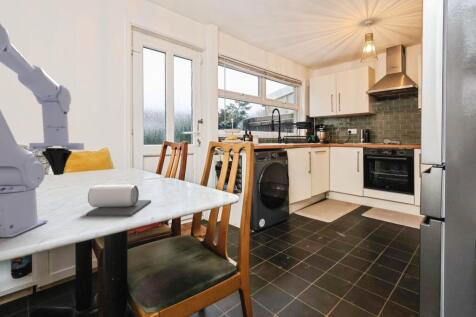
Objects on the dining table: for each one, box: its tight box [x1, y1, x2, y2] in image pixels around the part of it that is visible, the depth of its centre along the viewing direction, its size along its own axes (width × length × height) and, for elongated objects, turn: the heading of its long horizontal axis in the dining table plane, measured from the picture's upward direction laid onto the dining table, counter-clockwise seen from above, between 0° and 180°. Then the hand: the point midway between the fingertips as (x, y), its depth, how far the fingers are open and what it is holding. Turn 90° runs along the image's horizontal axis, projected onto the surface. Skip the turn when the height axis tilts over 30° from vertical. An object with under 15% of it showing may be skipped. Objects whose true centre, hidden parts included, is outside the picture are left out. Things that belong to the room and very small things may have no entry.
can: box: [87, 183, 140, 208], centre depth 70 cm, size 6×6×12 cm
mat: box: [86, 199, 152, 217], centre depth 70 cm, size 14×12×1 cm
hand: (58, 174), depth 69 cm, fingers closed
